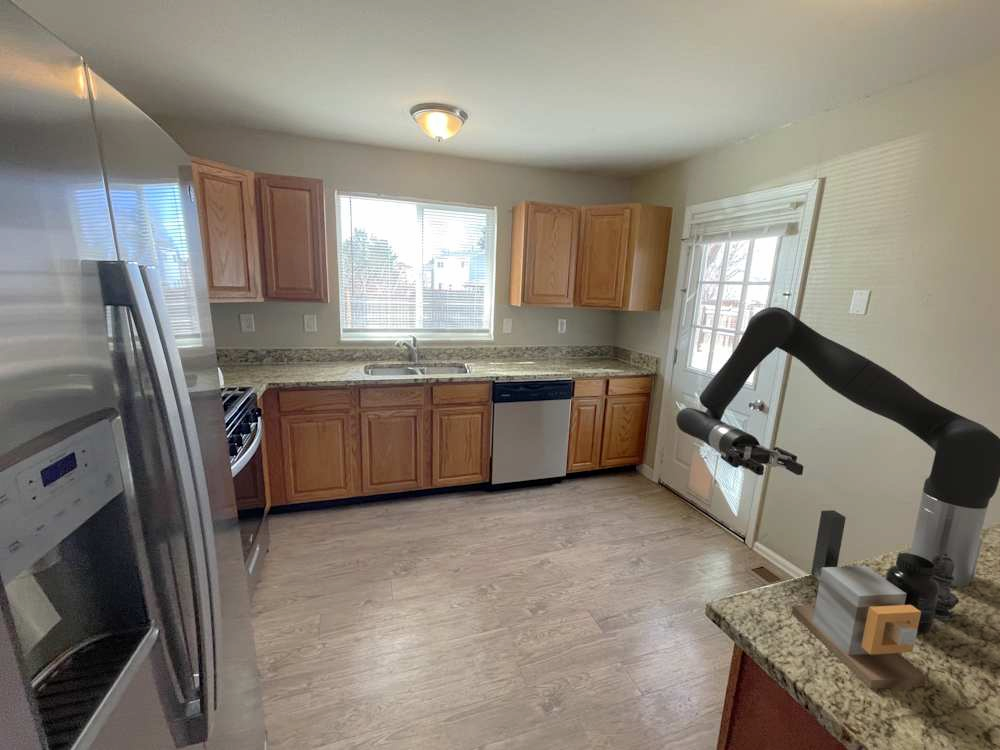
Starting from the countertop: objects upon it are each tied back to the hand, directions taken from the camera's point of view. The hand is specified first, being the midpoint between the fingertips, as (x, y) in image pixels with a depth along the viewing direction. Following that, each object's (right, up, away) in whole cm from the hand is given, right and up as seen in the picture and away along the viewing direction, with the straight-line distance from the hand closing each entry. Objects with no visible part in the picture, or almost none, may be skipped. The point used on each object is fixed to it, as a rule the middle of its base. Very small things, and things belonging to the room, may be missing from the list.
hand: (781, 470), depth 87 cm
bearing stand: (+1, -26, -15) cm, 30 cm away
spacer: (+2, -23, -21) cm, 31 cm away
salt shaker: (+24, -25, -7) cm, 35 cm away
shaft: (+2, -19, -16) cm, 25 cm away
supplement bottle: (+16, -25, -10) cm, 31 cm away
